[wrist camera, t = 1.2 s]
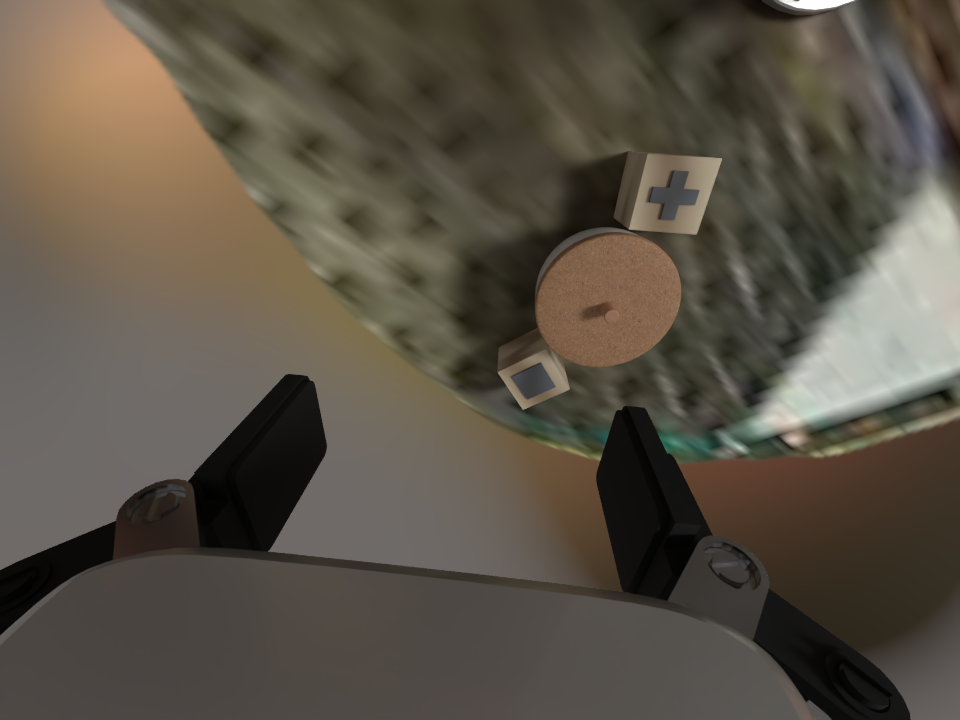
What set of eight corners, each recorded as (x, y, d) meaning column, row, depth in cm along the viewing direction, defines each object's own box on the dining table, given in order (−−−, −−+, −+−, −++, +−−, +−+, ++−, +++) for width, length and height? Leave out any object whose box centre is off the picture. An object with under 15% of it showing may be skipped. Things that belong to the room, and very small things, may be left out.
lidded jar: (597, 345, 39) (620, 400, 31) (508, 293, 37) (508, 337, 29) (674, 255, 34) (726, 293, 26) (577, 189, 32) (600, 207, 24)
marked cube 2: (691, 155, 30) (723, 158, 26) (671, 221, 33) (697, 235, 28) (627, 151, 30) (648, 153, 26) (613, 217, 33) (629, 230, 28)
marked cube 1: (541, 325, 38) (545, 350, 34) (563, 362, 40) (570, 390, 36) (498, 347, 40) (497, 373, 35) (521, 381, 42) (523, 410, 37)
